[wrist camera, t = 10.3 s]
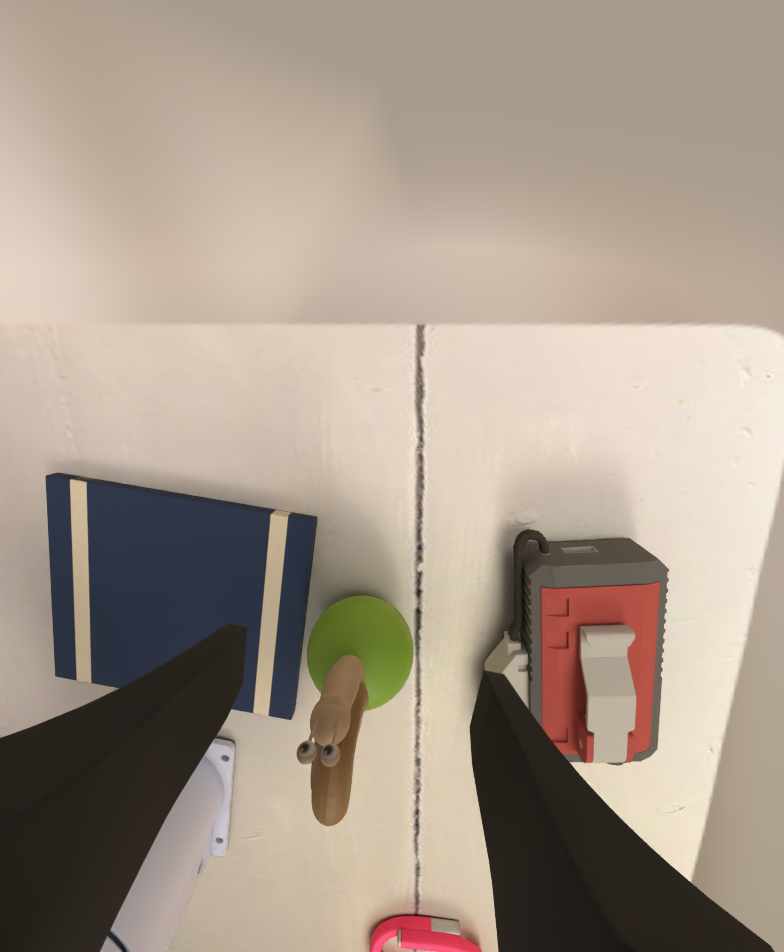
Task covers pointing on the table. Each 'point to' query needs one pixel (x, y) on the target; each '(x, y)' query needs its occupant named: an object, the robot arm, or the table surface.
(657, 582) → the walkie-talkie
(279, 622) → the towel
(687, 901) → the robot arm
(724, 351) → the table surface
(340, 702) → the snail figurine
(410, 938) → the fitness band
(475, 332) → the table surface
